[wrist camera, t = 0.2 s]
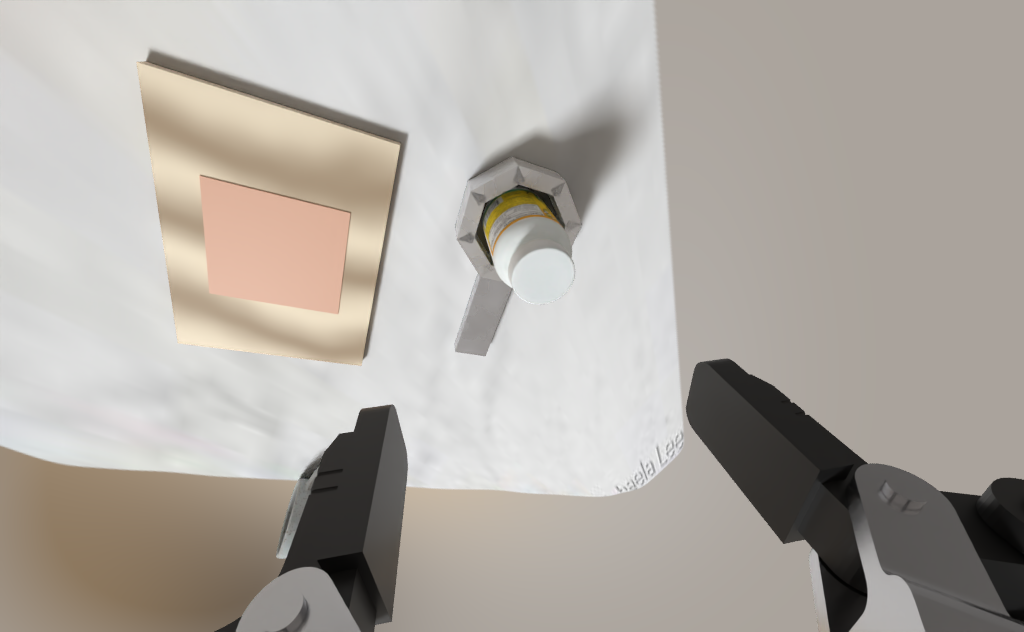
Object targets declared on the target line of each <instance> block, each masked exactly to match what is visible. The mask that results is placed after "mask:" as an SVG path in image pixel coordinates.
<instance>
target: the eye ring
mask: <svg viewBox="0 0 1024 632" xmlns="http://www.w3.org/2000/svg"><path fill="white" fill-rule="evenodd" d="M517 185H522V186H525V187H528V188H531V189H535V190H538V191H541V192H544V193H547V194H548V195H549V197H550V200H551V202H552V205H553V207H554V209H555V212H556V214H557V215H556V219H557V220H558V222H559V223H560V224H561V226H562V227H563V228H564V230H565V231H566V233H567V234H568V236H569V238H570V241H571V246H572V245H573V243H574V241H575V238H576V236H577V234H578V232H579V230H580V227H581V225H582V223H581V220H580V218H579V215H578V212H577V210H576V207H575V204H574V202H573V199H572V196H571V194H570V191H569V188H568V186H567V183H566V181H565V180H564V179H563V178H562V177H561V176H560V175H559V174H558V173H557V172H555V171H552V170H549V169H546V168H543V167H540V166H537V165H534V164H532V163H529V162H526V161H523V160H520V159H517V158H514V157H510V158H508V159H506V160H505V161H503V162H501V163H499V164H497V165H496V166H494V167H492V168H490V169H488V170H487V171H485V172H483V173H481V174H479V175H478V176H476V177H474V178H472V179H471V180H469V181H467V185H466V189H465V192H464V196H463V199H462V203H461V207H460V210H459V214H458V218H457V221H456V225H455V230H456V237H457V240H458V242H459V244H460V245H461V247H462V248H463V250H464V252H465V253H466V255H467V256H468V258H469V259H470V261H471V263H472V264H473V266H474V267H475V269H476V271H477V272H478V274H477V277H476V280H475V283H474V286H473V289H472V292H471V295H470V298H469V301H468V304H467V307H466V311H465V314H464V317H463V320H462V323H461V326H460V329H459V332H458V335H457V338H456V341H455V352H460V353H467V354H474V355H481V356H486V353H487V351H488V348H489V346H490V343H491V340H492V338H493V335H494V333H495V330H496V328H497V325H498V323H499V320H500V318H501V315H502V312H503V310H504V307H505V305H506V302H507V300H508V297H509V295H510V292H511V289H512V288H511V287H510V286H508V285H507V284H506V283H504V282H503V281H502V279H501V278H500V277H499V275H498V274H497V272H496V269H495V266H494V263H493V260H492V256H491V253H490V252H487V251H486V249H485V247H484V246H483V244H482V242H481V241H480V239H479V237H478V235H477V234H476V231H477V227H478V224H479V221H480V218H481V214H482V211H483V208H484V205H485V203H486V202H488V201H490V200H491V199H493V198H495V197H497V196H499V195H501V194H502V193H504V192H506V191H508V190H510V189H512V188H513V187H515V186H517Z"/></svg>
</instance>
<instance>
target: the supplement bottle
mask: <svg viewBox="0 0 1024 632" xmlns="http://www.w3.org/2000/svg"><path fill="white" fill-rule="evenodd" d="M482 225H483V231H484V234H485V237H486V240H487V243H488V247H489V250H490V253H491V256H492V260H493V263H494V266H495V269H496V272H497V274H498V275H499V277H500V278H501V279H502V281H503V282H504V283H506V284H507V285H508V286H510V287H511V288H513V290H514V292H515V293H516V295H517V296H518V297H519V298H520V299H522V300H523V301H525V302H527V303H530V304H537V305H542V304H547V303H551V302H553V301H556V300H557V299H559V298H561V297H562V296H563V295H565V294H566V292H567V291H568V290H569V289H570V287H571V286H572V284H573V281H574V278H575V267H574V263H573V261H572V259H571V257H572V246H571V241H570V238H569V236H568V234H567V233H566V231H565V230H564V228H563V227H562V226H561V224H560V223H559V222H558V220H557V219H556V218H555V216H554V215H553V214H552V213H551V211H550V210H549V208H548V207H547V206H546V204H545V203H544V202H543V201H542V199H541V198H540V197H539V196H537V195H536V194H535V193H534V192H532V191H531V190H528V189H526V188H521V187H514V188H512V189H510V190H508V191H506V192H504V193H502V194H501V195H499V196H497V197H495V198H493V199H491V200H490V201H489V202H488V204H487V206H486V208H485V210H484V213H483V218H482Z"/></svg>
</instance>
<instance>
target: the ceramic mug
mask: <svg viewBox="0 0 1024 632" xmlns="http://www.w3.org/2000/svg"><path fill="white" fill-rule="evenodd" d="M318 468H319V467H318ZM318 468H317V469H316V470H315V471H314V473H313V474H312V476H311V477H310V479H303V478H301V479H299V480H298V482H297V484H296V486H295V489H294V491H293V494H292V497H291V500H290V503H289V506H288V509H287V512H286V517H285V520H284V524H283V527H282V532H281V536H280V539H279V544H278V548H277V554H276V556H277V558H286V557H287V555H288V552H289V549H290V546H291V543H292V541H293V538H294V535H295V532H296V530H297V527H298V524H299V521H300V518H301V516H302V513H303V510H304V507H305V505H306V502H307V499H308V496H309V495H310V494H311V488H312V485H313V482H314V480H315V477H317V471H318Z"/></svg>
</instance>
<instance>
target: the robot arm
mask: <svg viewBox="0 0 1024 632" xmlns="http://www.w3.org/2000/svg"><path fill="white" fill-rule="evenodd" d="M686 412H687V417H688V420H689V423H690V425H691V426H692V428H693V430H694V431H695V432H696V434H697V435H698V436H699V437H700V439H701V440H702V441H703V442H704V444H705V445H706V446H707V447H708V449H709V450H710V451H711V452H712V454H713V455H714V456H715V458H716V459H717V460H718V461H719V463H720V464H721V465H722V466H723V468H724V469H725V470H726V471H727V473H728V474H729V475H730V477H731V478H732V479H733V480H734V482H735V483H736V484H737V485H738V487H739V488H740V489H741V491H742V492H743V493H744V494H745V496H746V497H747V498H748V499H749V501H750V502H751V503H752V504H753V506H754V507H755V508H756V509H757V511H758V512H759V513H760V514H761V516H762V517H763V518H764V520H765V521H766V522H767V523H768V525H769V526H770V527H771V528H772V530H773V531H774V532H775V534H776V535H777V536H778V537H779V539H780V540H781V541H782V542H783V544H785V543H790V542H795V541H800V540H804V539H805V540H806V541H807V542H808V543H809V544H810V546H811V547H812V549H811V551H810V554H809V563H810V571H811V578H812V586H813V593H814V600H815V608H816V615H817V623H818V630H819V632H1024V480H1022V479H1016V478H1000V479H997V480H995V481H994V482H993V483H992V484H991V485H990V486H989V487H988V488H987V490H986V491H985V492H984V493H983V494H982V496H977V495H969V494H960V493H952V492H943V491H938V490H937V489H936V488H934V487H933V486H932V485H930V484H929V483H927V482H926V481H924V480H922V479H921V478H919V477H917V476H915V475H913V474H911V473H909V472H906V471H904V470H901V469H898V468H895V467H892V466H888V465H884V464H868V463H867V462H865V461H864V460H863V459H861V458H860V457H859V456H858V455H857V454H855V453H854V452H853V451H852V450H851V449H849V448H848V447H847V446H846V445H845V444H843V443H842V442H841V441H840V440H838V439H837V438H836V437H835V436H834V435H832V434H831V433H830V432H829V431H827V430H826V429H825V428H824V427H823V426H821V425H820V424H819V423H818V422H816V421H815V420H814V419H813V418H812V417H811V416H809V415H805V412H804V411H803V410H802V409H801V408H800V407H798V406H797V405H796V404H795V403H791V402H790V399H789V398H787V397H786V396H785V395H784V394H783V393H781V392H780V391H779V390H778V389H776V388H775V387H774V386H773V385H771V384H769V383H767V382H765V381H763V380H761V379H759V378H757V377H755V376H753V375H749V374H748V373H746V372H745V371H744V370H743V369H742V368H740V366H738V365H737V364H736V363H735V362H733V361H732V360H730V359H720V360H713V361H706V362H700V363H698V364H697V365H696V367H695V369H694V373H693V378H692V382H691V387H690V391H689V396H688V400H687V406H686ZM407 471H408V463H407V452H406V447H405V443H404V439H403V435H402V431H401V427H400V424H399V420H398V416H397V412H396V409H395V406H394V405H385V406H378V407H371V408H364V409H361V411H360V413H359V416H358V419H357V423H356V426H355V429H354V432H349V433H342V434H339V435H338V436H337V438H336V439H335V440H334V441H333V442H332V444H331V445H330V446H329V447H328V449H327V450H326V451H325V452H324V455H323V457H322V460H321V463H320V466H319V468H318V471H317V477H315V480H314V482H313V485H312V488H311V494H310V495H309V496H308V499H307V502H306V505H305V507H304V510H303V513H302V516H301V518H300V521H299V524H298V527H297V530H296V532H295V535H294V538H293V541H292V543H291V546H290V549H289V552H288V555H287V557H286V560H285V563H284V566H283V568H282V570H281V572H280V574H279V576H278V578H276V579H275V580H273V581H272V582H271V583H269V584H268V585H267V586H266V587H265V588H263V589H262V590H261V591H260V592H259V593H258V595H257V596H256V597H255V598H254V599H253V600H252V602H251V603H250V604H249V606H248V607H247V609H246V610H245V612H244V614H243V616H241V617H240V618H238V619H237V620H235V621H234V622H232V623H230V624H228V625H227V626H225V627H223V628H221V629H219V630H217V631H215V632H374V627H375V625H377V624H382V623H387V622H391V621H392V613H393V603H394V594H395V585H396V575H397V566H398V557H399V547H400V537H401V529H402V519H403V509H404V500H405V491H406V482H407Z"/></svg>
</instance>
